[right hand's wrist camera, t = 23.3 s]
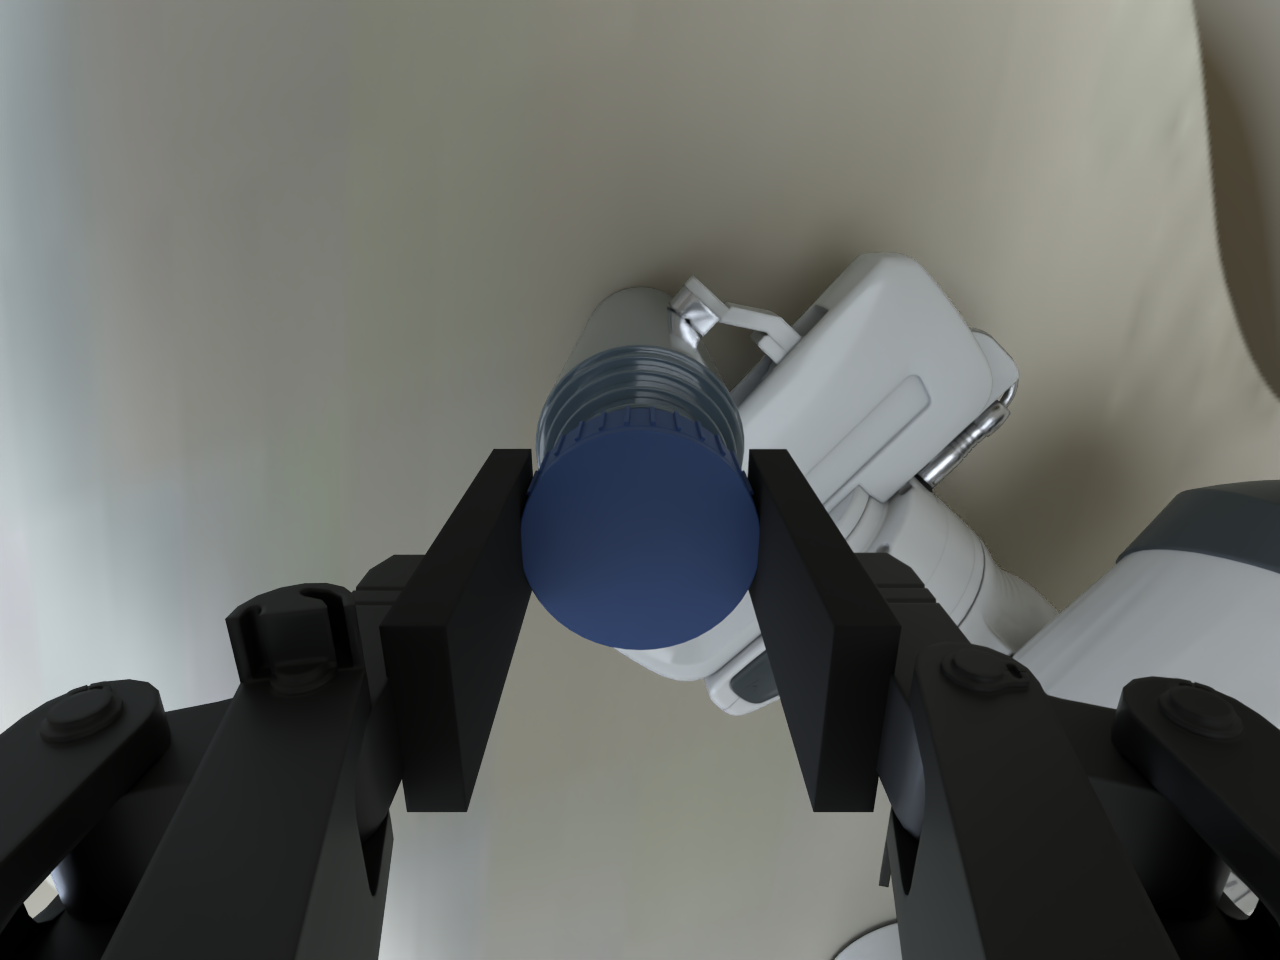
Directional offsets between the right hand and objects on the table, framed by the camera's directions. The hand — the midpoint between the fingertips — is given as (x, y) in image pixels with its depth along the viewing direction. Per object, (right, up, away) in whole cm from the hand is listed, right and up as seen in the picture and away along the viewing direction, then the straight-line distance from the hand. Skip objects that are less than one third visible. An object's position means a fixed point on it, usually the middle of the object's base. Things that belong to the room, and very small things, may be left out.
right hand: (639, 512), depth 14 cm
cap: (0, 0, -1) cm, 1 cm away
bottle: (0, +7, +20) cm, 21 cm away
